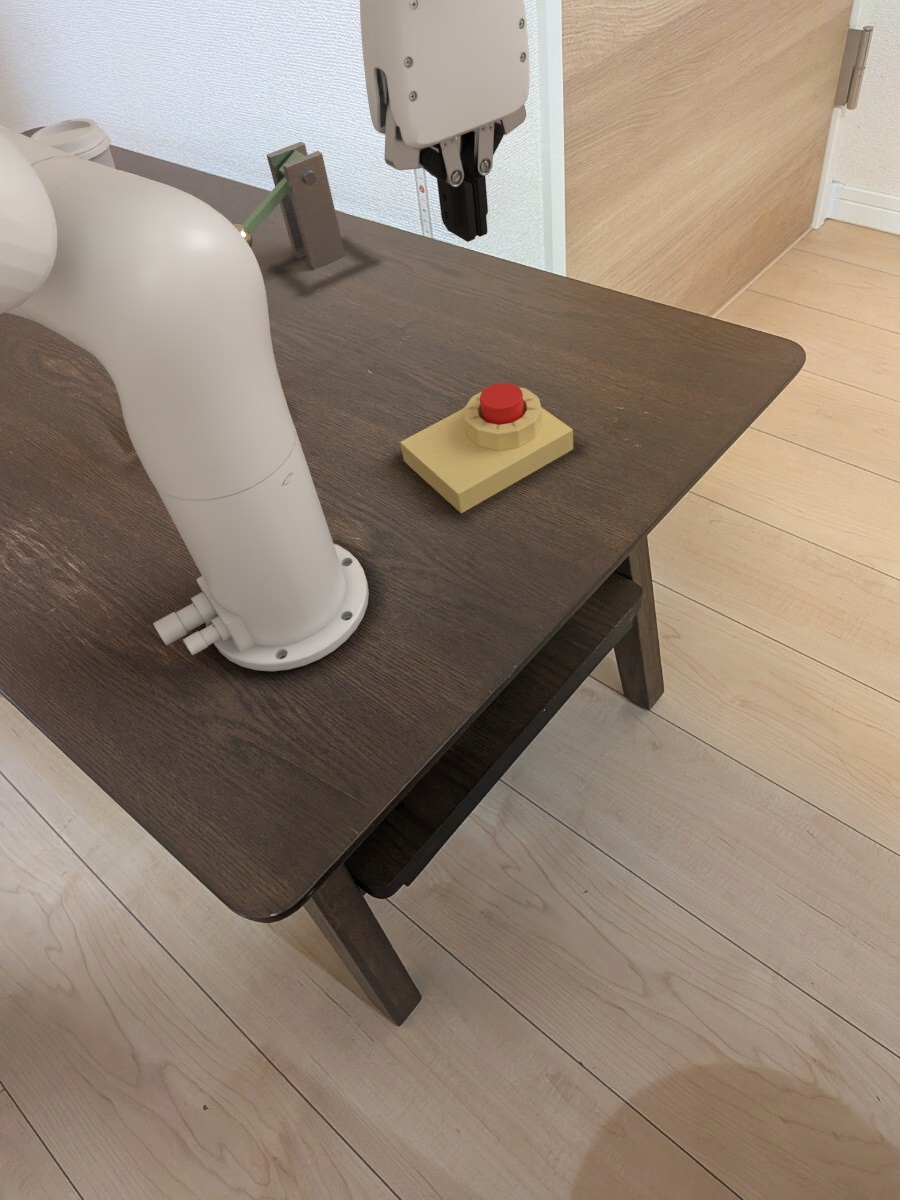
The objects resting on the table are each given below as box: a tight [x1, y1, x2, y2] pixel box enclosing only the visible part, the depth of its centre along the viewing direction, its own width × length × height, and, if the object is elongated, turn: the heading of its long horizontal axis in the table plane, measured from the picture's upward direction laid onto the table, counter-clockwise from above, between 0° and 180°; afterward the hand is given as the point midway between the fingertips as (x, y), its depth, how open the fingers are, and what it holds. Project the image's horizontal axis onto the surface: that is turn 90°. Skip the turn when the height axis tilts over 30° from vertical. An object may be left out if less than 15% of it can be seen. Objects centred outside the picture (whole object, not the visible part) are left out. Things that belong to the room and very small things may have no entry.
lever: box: [232, 151, 305, 249], centre depth 91 cm, size 13×3×3 cm, turn 124°
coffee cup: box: [30, 118, 117, 169], centre depth 102 cm, size 10×10×15 cm
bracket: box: [266, 141, 346, 271], centre depth 94 cm, size 9×8×13 cm
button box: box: [399, 386, 574, 514], centre depth 71 cm, size 12×9×4 cm
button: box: [480, 382, 524, 425], centre depth 70 cm, size 4×4×2 cm
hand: (466, 231), depth 60 cm, fingers closed
